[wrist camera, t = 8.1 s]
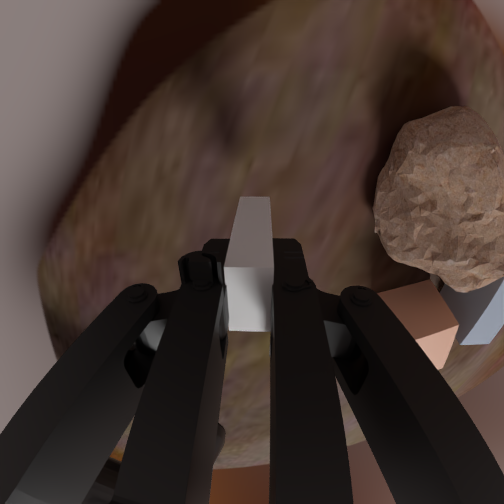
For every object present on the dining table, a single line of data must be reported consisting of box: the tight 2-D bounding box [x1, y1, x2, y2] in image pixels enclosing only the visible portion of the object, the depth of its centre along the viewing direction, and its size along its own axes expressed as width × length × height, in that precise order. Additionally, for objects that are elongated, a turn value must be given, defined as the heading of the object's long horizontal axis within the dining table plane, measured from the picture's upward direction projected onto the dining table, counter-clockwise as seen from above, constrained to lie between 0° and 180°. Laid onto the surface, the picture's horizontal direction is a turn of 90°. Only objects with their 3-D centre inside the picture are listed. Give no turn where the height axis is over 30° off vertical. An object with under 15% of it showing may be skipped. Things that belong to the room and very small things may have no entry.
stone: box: [372, 106, 504, 293], centre depth 14 cm, size 12×9×10 cm
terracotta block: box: [377, 279, 459, 370], centre depth 20 cm, size 6×6×6 cm
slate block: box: [440, 276, 504, 345], centre depth 18 cm, size 5×7×6 cm
